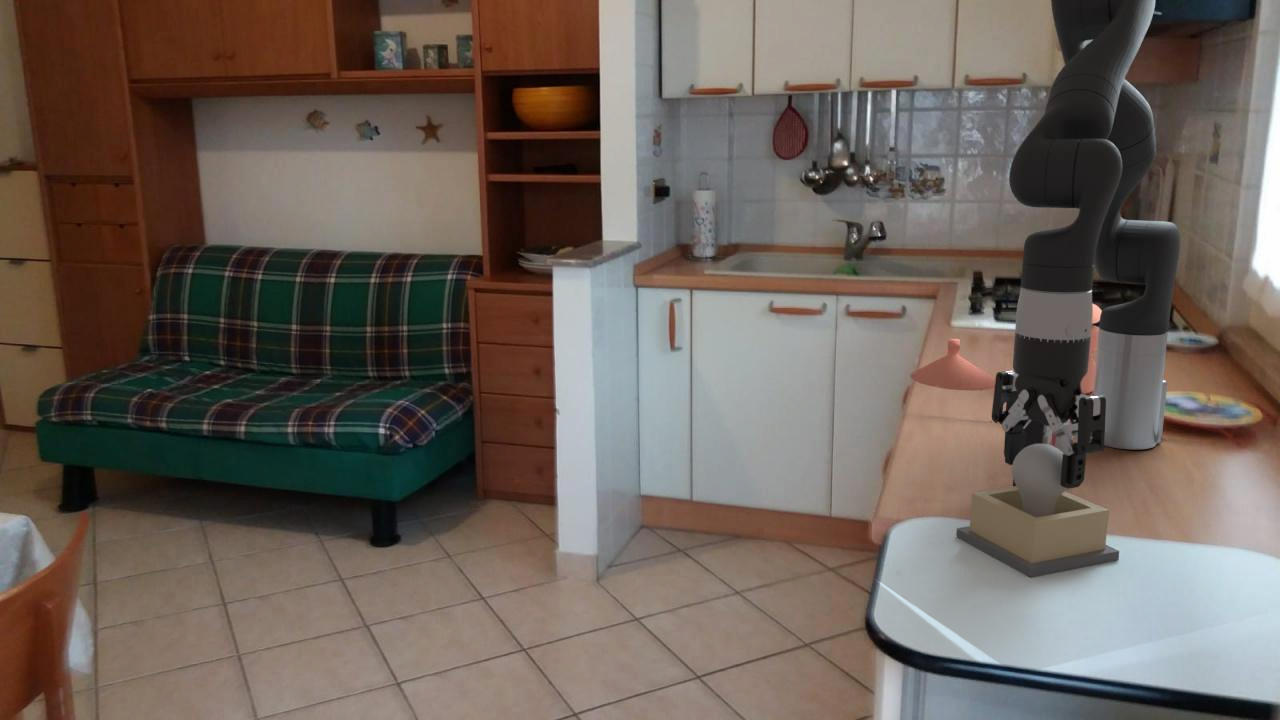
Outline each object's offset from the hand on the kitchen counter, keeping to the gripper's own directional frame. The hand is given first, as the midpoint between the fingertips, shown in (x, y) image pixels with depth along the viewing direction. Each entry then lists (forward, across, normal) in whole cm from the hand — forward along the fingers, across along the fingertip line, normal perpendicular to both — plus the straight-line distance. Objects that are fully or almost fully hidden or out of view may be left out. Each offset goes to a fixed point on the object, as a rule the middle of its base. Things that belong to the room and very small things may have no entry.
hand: (1041, 474), depth 112 cm
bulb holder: (+8, 0, 0) cm, 9 cm away
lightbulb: (+8, 0, 0) cm, 8 cm away
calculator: (+9, +11, -9) cm, 17 cm away
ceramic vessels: (+9, +60, -44) cm, 75 cm away
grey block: (+9, +20, -21) cm, 31 cm away
